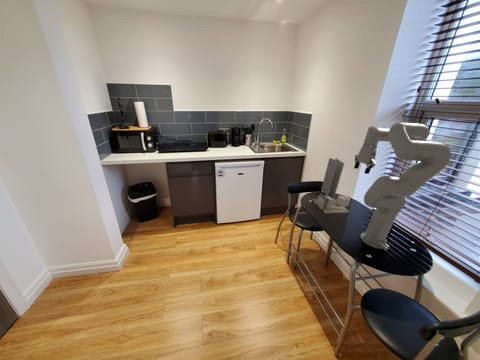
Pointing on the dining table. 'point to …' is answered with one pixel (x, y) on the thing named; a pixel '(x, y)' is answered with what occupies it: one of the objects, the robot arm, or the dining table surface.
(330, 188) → the brochure
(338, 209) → the ticket board
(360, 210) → the dining table surface
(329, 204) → the ticket pad
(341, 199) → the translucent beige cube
